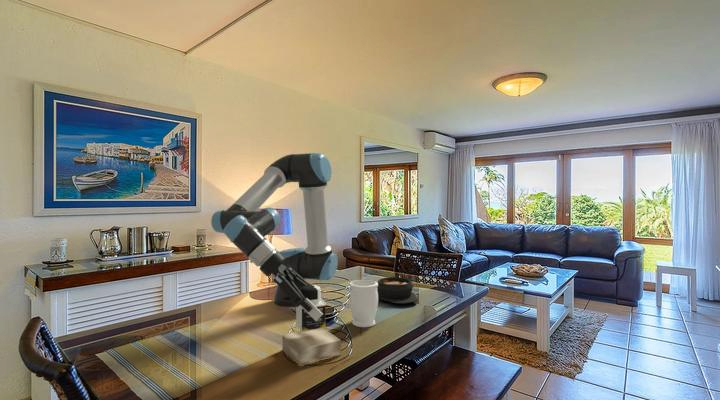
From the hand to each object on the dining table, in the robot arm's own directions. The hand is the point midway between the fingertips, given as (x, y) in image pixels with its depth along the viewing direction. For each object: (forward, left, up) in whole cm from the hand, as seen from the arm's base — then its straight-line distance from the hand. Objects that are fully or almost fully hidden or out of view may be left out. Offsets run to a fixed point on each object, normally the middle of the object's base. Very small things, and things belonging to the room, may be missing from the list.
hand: (321, 311), depth 107 cm
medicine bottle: (+2, -2, -5) cm, 6 cm away
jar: (-26, -9, -13) cm, 30 cm away
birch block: (+2, -2, -13) cm, 13 cm away
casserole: (-57, -22, -13) cm, 62 cm away
